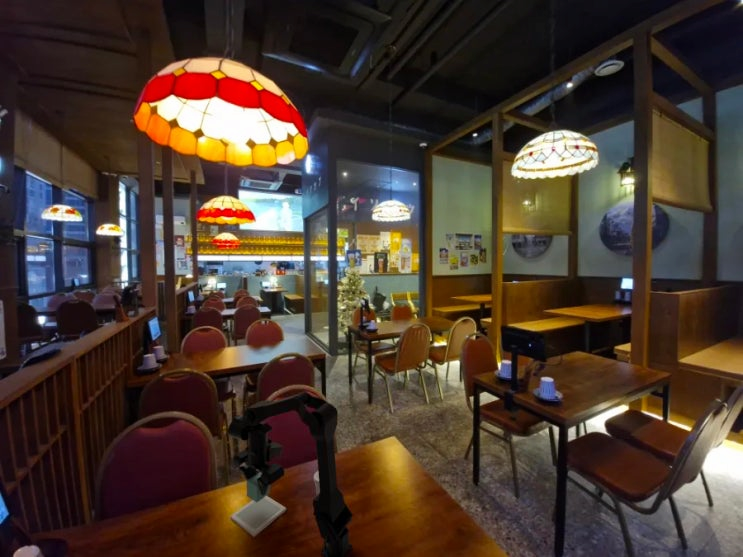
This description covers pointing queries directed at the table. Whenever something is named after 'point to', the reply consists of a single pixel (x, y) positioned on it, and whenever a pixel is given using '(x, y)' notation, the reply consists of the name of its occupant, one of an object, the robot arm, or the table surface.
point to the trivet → (258, 515)
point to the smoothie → (317, 482)
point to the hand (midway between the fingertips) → (258, 491)
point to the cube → (255, 488)
